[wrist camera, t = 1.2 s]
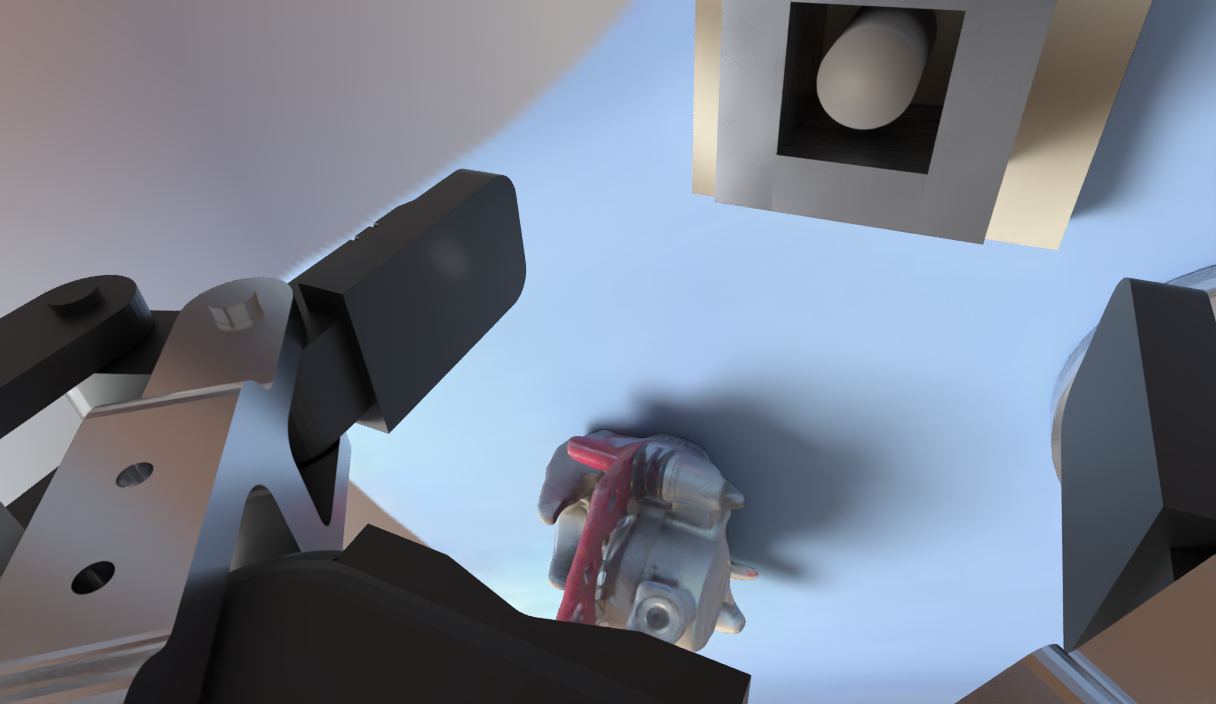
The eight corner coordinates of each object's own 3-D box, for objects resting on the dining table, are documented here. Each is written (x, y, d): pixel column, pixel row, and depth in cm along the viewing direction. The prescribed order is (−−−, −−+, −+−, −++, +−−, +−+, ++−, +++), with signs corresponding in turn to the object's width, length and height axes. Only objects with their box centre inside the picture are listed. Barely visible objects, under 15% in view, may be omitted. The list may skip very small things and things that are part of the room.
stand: (720, -220, 17) (636, -208, 14) (1232, -251, 14) (1292, -245, 10) (708, 172, 24) (648, 248, 20) (1057, 223, 20) (1057, 326, 17)
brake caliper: (488, 394, 32) (521, 644, 23) (729, 347, 33) (853, 565, 24) (524, 552, 39) (561, 792, 30) (722, 509, 40) (815, 725, 31)
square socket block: (779, -112, 17) (724, -81, 14) (1076, -113, 15) (1080, -77, 12) (760, 138, 21) (715, 201, 18) (994, 167, 18) (982, 244, 16)
